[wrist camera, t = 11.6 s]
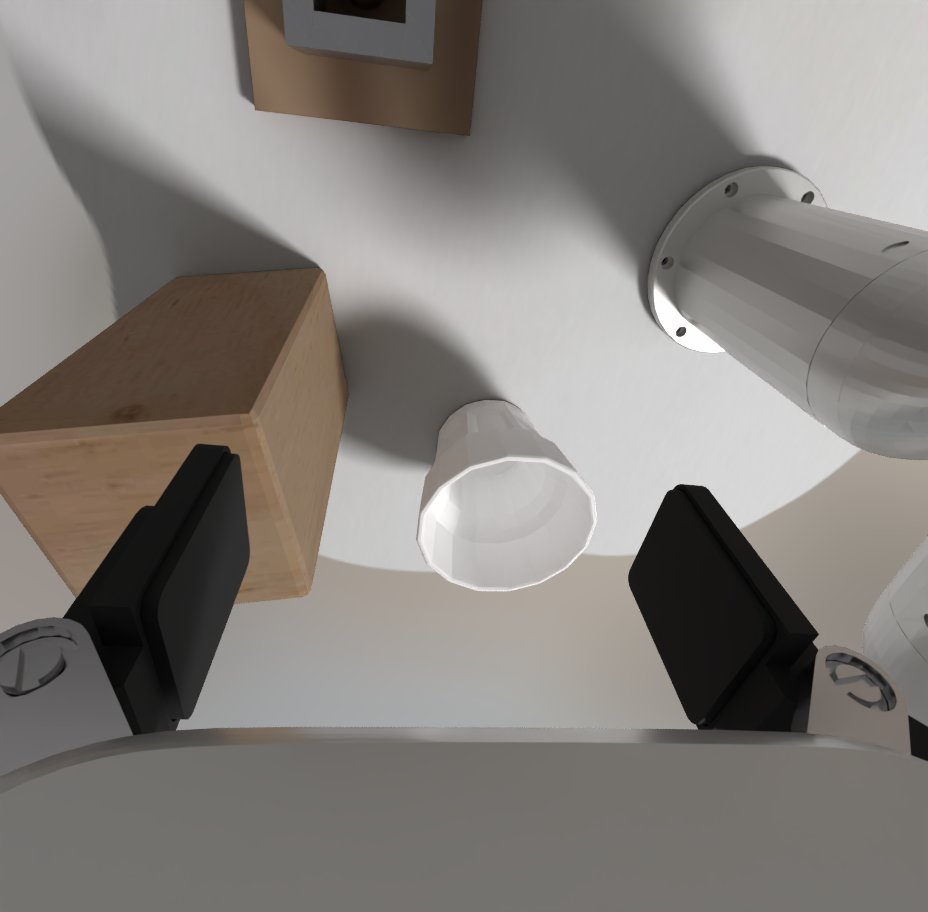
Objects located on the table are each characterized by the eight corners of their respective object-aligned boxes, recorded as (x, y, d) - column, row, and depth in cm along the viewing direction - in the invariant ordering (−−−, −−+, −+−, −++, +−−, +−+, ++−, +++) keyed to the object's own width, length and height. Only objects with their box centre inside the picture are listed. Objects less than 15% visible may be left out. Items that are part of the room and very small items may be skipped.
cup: (554, 492, 47) (590, 583, 38) (420, 505, 47) (425, 601, 38) (561, 369, 40) (608, 445, 31) (404, 383, 40) (405, 465, 30)
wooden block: (172, 275, 33) (-51, 436, 17) (325, 265, 34) (251, 411, 18) (220, 408, 39) (87, 624, 23) (350, 397, 40) (312, 600, 23)
